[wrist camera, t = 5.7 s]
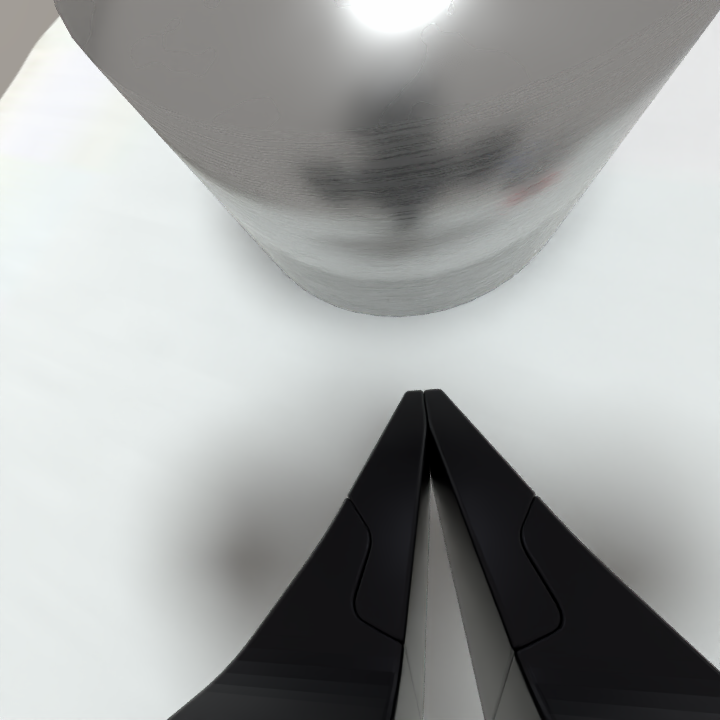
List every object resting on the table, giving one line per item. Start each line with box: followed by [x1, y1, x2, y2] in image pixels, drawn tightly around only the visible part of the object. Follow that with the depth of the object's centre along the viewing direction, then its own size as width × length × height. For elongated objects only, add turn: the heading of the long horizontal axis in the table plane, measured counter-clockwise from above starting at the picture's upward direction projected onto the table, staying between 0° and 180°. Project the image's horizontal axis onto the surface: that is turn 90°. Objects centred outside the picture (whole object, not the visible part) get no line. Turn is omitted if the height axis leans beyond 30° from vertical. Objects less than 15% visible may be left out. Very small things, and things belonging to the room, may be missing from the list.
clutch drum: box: [54, 0, 720, 317], centre depth 11 cm, size 16×16×11 cm
